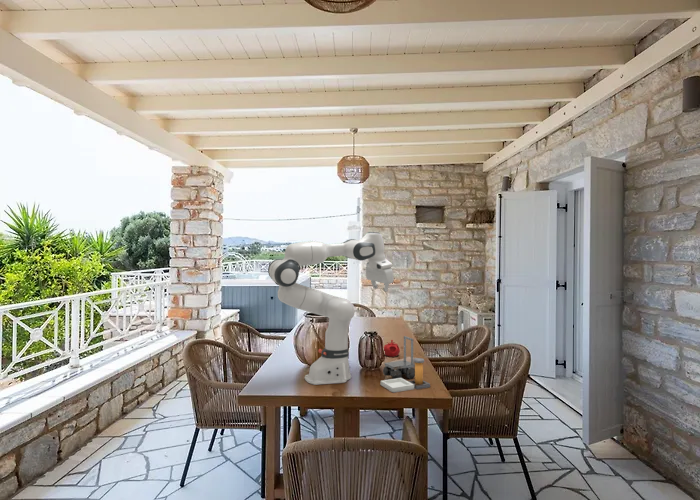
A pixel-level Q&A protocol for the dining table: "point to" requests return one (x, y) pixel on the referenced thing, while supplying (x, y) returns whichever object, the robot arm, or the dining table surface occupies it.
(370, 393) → the dining table surface
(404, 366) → the trolley
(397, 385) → the tray
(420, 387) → the socket
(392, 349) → the red hollow tomato
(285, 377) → the dining table surface
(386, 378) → the block
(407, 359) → the brick
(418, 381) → the pin
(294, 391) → the dining table surface
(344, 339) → the robot arm
